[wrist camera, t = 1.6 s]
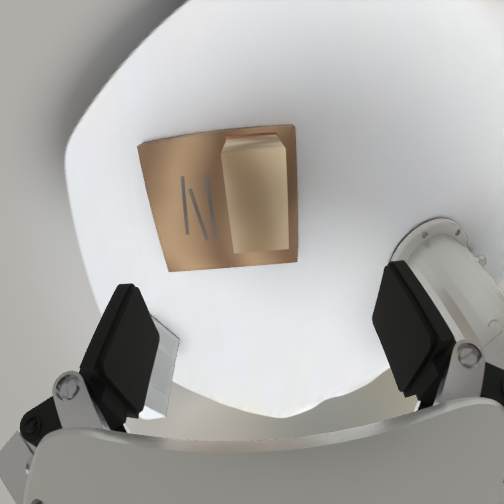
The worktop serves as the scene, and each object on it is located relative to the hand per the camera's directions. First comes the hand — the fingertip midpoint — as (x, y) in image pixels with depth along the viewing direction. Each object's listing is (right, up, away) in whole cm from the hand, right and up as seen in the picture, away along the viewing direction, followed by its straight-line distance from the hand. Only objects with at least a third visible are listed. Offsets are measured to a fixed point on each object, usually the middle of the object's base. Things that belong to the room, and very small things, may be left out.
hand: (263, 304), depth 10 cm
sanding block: (0, +8, +12) cm, 15 cm away
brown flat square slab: (-3, +7, +15) cm, 17 cm away
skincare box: (-14, -9, +25) cm, 30 cm away
